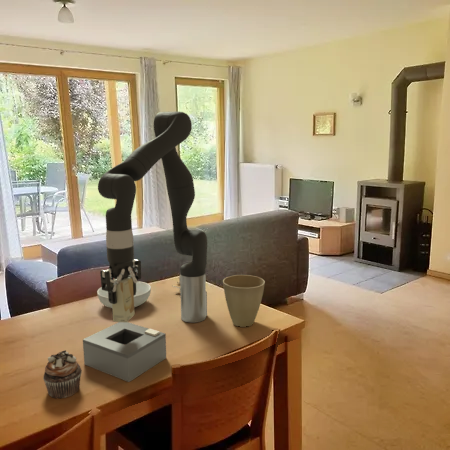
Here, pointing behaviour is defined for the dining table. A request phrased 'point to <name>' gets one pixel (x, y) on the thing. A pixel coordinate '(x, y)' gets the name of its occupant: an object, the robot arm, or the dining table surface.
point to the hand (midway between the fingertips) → (123, 299)
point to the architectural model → (177, 284)
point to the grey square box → (124, 350)
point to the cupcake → (62, 375)
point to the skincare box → (124, 301)
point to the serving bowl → (139, 298)
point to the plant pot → (243, 298)
